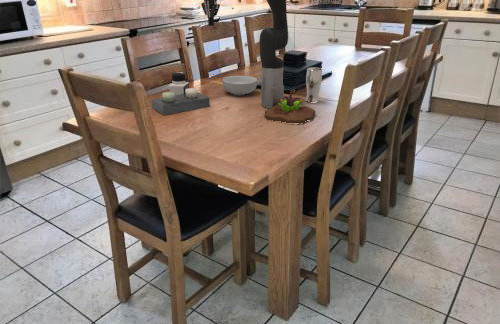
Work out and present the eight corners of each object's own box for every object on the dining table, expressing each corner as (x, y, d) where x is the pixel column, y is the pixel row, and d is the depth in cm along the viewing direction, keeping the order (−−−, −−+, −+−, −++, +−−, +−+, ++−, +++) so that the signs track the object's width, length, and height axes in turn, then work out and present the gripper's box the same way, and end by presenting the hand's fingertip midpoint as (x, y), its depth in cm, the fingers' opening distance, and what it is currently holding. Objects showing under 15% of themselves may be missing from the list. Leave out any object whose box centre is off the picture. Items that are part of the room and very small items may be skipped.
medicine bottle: (184, 101, 187) (182, 75, 182) (170, 100, 188) (167, 74, 183) (189, 96, 193) (188, 71, 188) (175, 96, 195) (173, 71, 189)
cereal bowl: (242, 100, 188) (242, 85, 185) (215, 94, 197) (215, 80, 194) (263, 92, 200) (264, 78, 197) (237, 87, 209) (237, 73, 206)
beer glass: (302, 102, 184) (304, 69, 178) (307, 98, 190) (309, 66, 184) (317, 104, 182) (319, 71, 175) (322, 100, 187) (324, 68, 181)
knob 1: (177, 109, 174) (176, 93, 171) (166, 111, 172) (165, 95, 169) (172, 106, 178) (171, 91, 175) (161, 108, 175) (159, 92, 173)
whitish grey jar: (200, 104, 180) (199, 89, 177) (189, 106, 177) (188, 91, 174) (194, 102, 184) (193, 87, 181) (184, 104, 181) (183, 89, 178)
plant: (321, 114, 171) (323, 88, 166) (302, 128, 155) (304, 99, 151) (279, 106, 180) (280, 82, 175) (257, 119, 165) (257, 92, 160)
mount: (209, 106, 179) (209, 97, 178) (163, 115, 168) (162, 106, 166) (196, 100, 188) (196, 91, 186) (152, 108, 177) (151, 99, 175)
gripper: (225, -17, 172) (226, 26, 180) (209, -17, 182) (210, 23, 189) (209, -16, 168) (211, 27, 176) (194, -17, 178) (196, 24, 186)
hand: (211, 25), depth 183 cm, fingers closed
